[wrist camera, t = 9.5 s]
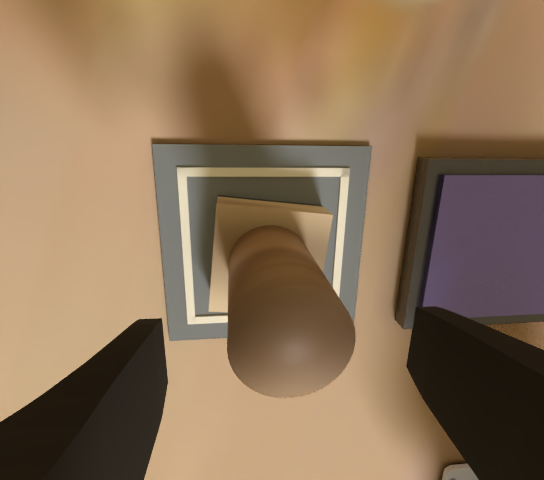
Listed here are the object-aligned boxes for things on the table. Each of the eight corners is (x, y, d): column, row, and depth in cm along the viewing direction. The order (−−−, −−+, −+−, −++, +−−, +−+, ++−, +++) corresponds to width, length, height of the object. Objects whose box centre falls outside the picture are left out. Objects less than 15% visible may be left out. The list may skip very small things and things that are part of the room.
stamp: (306, 297, 18) (360, 417, 11) (210, 291, 17) (196, 416, 10) (321, 205, 17) (397, 268, 9) (218, 194, 16) (206, 254, 8)
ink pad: (537, 312, 20) (557, 323, 19) (394, 319, 19) (405, 332, 18) (581, 158, 18) (608, 160, 16) (418, 157, 17) (433, 159, 15)
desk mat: (351, 329, 19) (353, 332, 19) (170, 338, 18) (169, 342, 18) (370, 146, 16) (372, 146, 16) (152, 143, 15) (151, 144, 15)
